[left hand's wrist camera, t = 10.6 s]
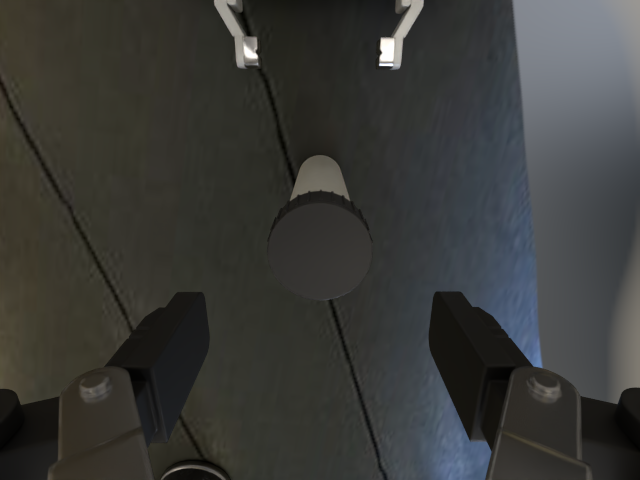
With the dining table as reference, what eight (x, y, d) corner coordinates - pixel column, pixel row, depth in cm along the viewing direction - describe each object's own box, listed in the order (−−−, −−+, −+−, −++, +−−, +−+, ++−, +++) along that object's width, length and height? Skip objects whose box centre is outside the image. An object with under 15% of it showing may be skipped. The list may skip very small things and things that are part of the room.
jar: (350, 176, 34) (381, 249, 17) (320, 206, 35) (320, 303, 18) (319, 145, 33) (319, 190, 16) (289, 177, 34) (259, 251, 17)
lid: (387, 235, 19) (397, 253, 17) (320, 296, 20) (320, 320, 18) (319, 168, 18) (319, 177, 15) (252, 237, 19) (243, 255, 17)
